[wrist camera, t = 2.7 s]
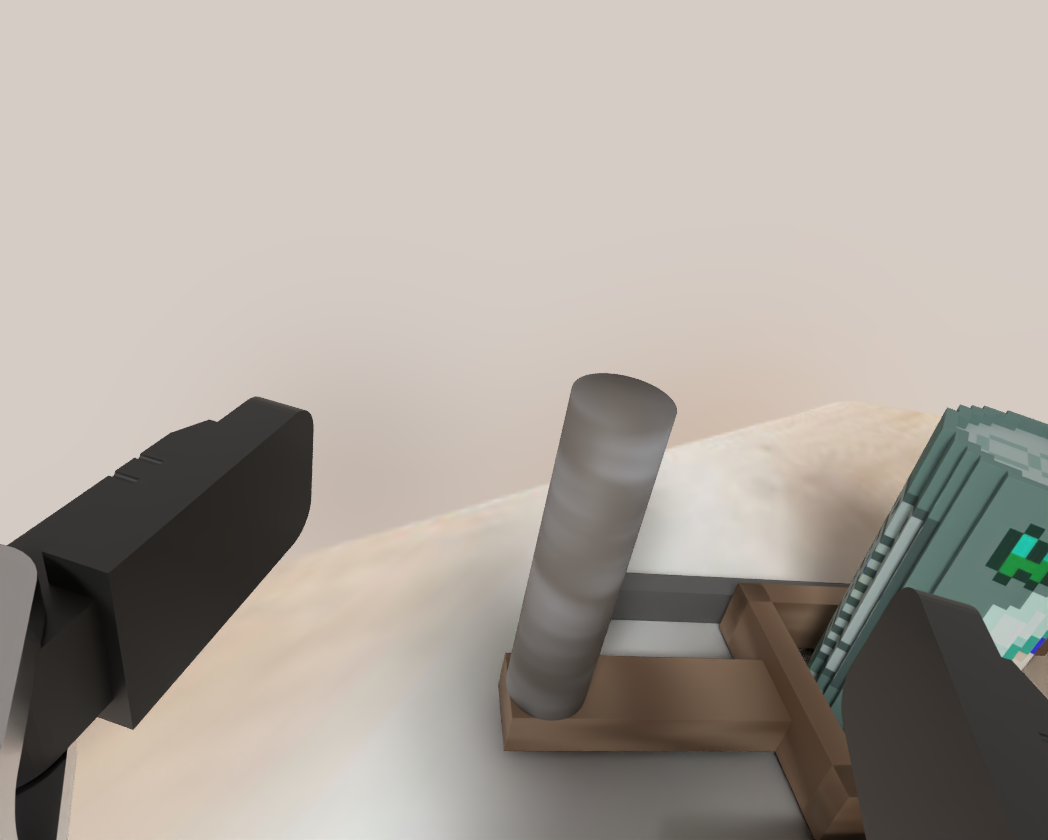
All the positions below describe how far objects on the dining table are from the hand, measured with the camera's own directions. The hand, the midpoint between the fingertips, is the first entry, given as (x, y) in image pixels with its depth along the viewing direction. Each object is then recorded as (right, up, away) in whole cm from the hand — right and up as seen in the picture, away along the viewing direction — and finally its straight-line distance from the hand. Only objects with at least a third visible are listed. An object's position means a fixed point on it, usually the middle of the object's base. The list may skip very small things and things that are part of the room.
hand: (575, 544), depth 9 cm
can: (+14, -12, +22) cm, 29 cm away
